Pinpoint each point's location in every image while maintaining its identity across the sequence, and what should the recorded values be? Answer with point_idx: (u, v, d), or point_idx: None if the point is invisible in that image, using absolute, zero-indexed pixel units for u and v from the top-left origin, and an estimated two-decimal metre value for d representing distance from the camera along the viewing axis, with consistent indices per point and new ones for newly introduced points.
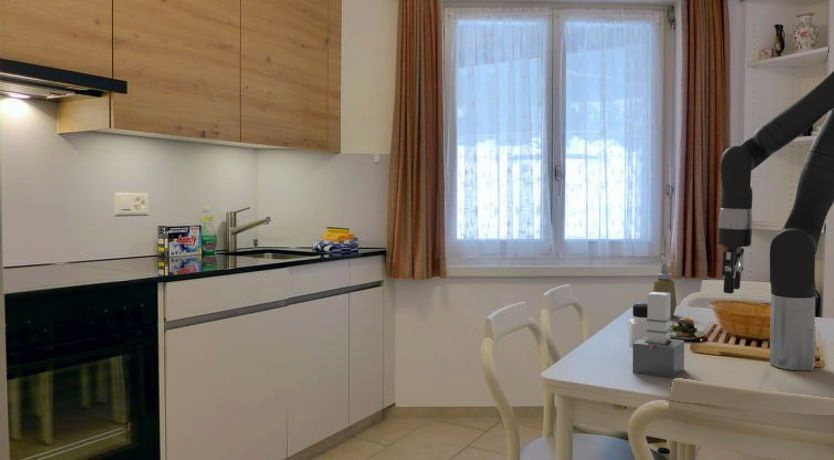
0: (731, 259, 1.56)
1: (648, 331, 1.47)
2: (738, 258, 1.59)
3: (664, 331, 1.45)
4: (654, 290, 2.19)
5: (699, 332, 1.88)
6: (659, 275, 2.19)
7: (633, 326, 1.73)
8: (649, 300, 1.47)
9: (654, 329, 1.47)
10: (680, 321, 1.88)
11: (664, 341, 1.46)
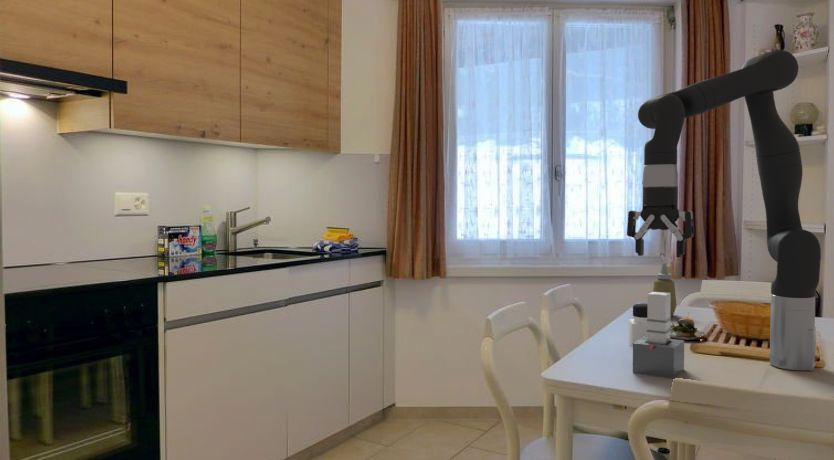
0: (692, 218, 1.43)
1: (648, 331, 1.47)
2: None
3: (664, 331, 1.45)
4: (654, 290, 2.19)
5: (699, 332, 1.88)
6: (659, 275, 2.19)
7: (633, 326, 1.73)
8: (649, 300, 1.47)
9: (654, 329, 1.47)
10: (680, 321, 1.88)
11: (664, 341, 1.46)
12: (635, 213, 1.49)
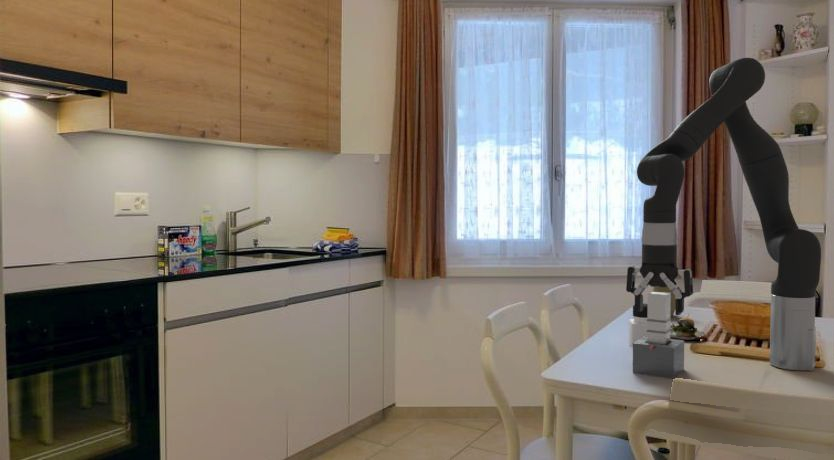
0: (691, 277, 1.44)
1: (648, 331, 1.47)
2: None
3: (664, 331, 1.45)
4: (654, 290, 2.19)
5: (699, 332, 1.88)
6: None
7: (633, 326, 1.73)
8: (649, 300, 1.47)
9: (654, 329, 1.47)
10: (680, 321, 1.88)
11: (664, 341, 1.46)
12: (634, 269, 1.50)
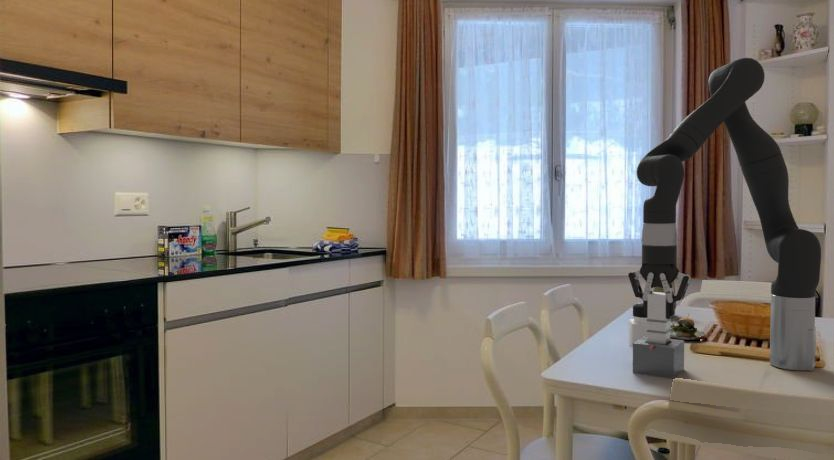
0: (688, 283, 1.44)
1: (648, 331, 1.47)
2: None
3: (664, 331, 1.45)
4: (654, 290, 2.19)
5: (699, 332, 1.88)
6: None
7: (633, 326, 1.73)
8: (649, 300, 1.47)
9: (654, 330, 1.47)
10: (680, 321, 1.88)
11: (664, 341, 1.46)
12: (635, 273, 1.50)
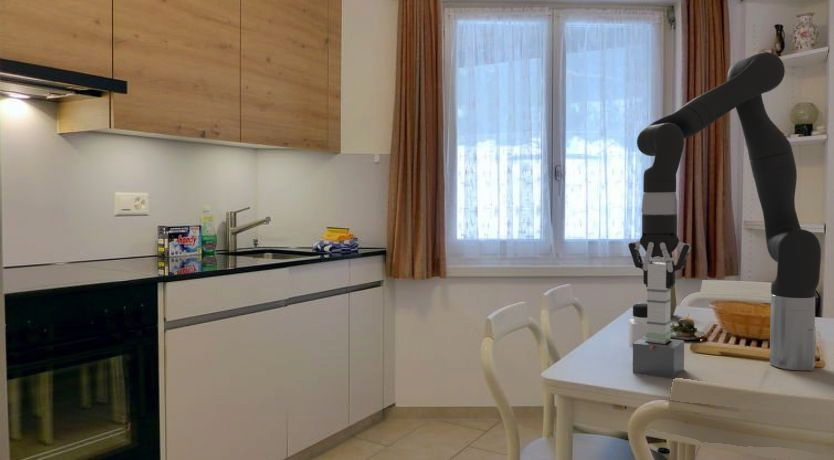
0: (688, 252, 1.44)
1: (648, 301, 1.47)
2: None
3: (664, 301, 1.45)
4: None
5: (699, 332, 1.88)
6: None
7: (633, 326, 1.73)
8: (649, 270, 1.47)
9: (655, 299, 1.46)
10: (680, 321, 1.88)
11: (664, 311, 1.45)
12: (635, 244, 1.50)
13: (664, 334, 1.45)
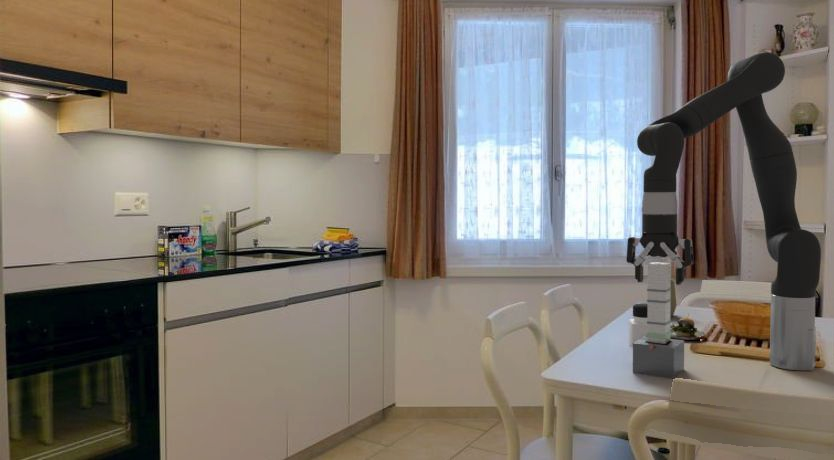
0: (691, 246, 1.43)
1: (648, 301, 1.47)
2: None
3: (664, 300, 1.45)
4: None
5: (699, 332, 1.88)
6: None
7: (633, 326, 1.73)
8: (649, 270, 1.47)
9: (655, 299, 1.46)
10: (680, 321, 1.88)
11: (664, 311, 1.45)
12: (635, 240, 1.50)
13: (664, 334, 1.45)
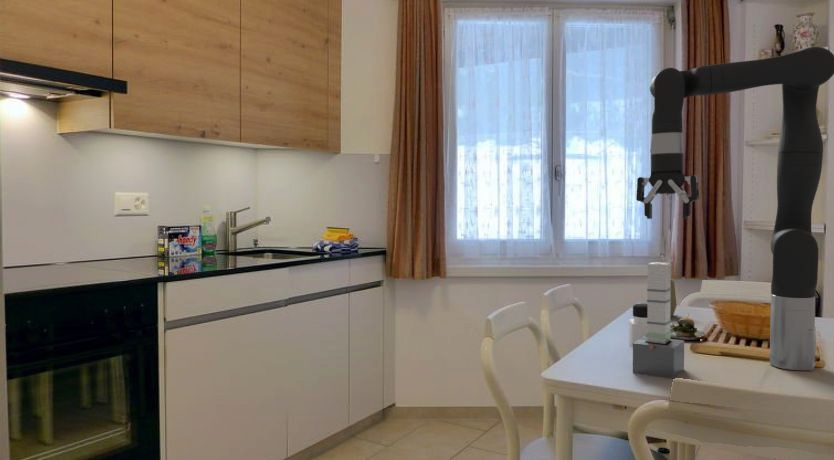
0: (697, 182, 1.55)
1: (648, 301, 1.47)
2: None
3: (664, 300, 1.45)
4: None
5: (699, 332, 1.88)
6: None
7: (633, 326, 1.73)
8: (649, 270, 1.47)
9: (655, 299, 1.46)
10: (680, 321, 1.88)
11: (664, 311, 1.45)
12: (644, 179, 1.61)
13: (664, 334, 1.45)
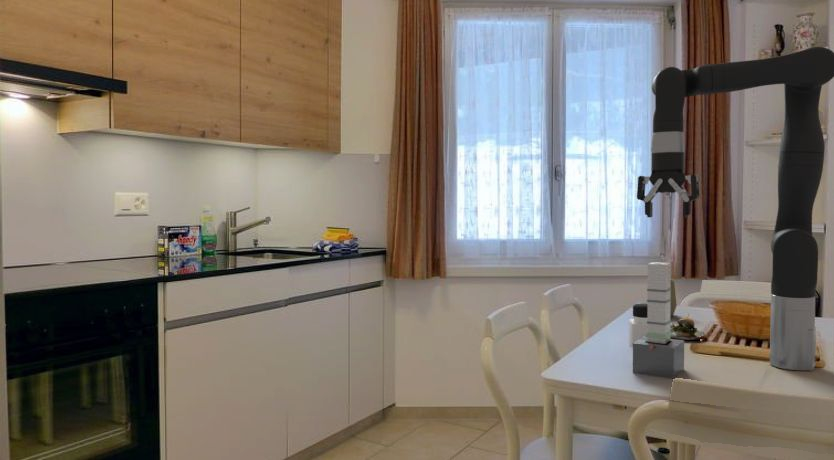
0: (697, 181, 1.55)
1: (648, 301, 1.47)
2: None
3: (664, 300, 1.45)
4: None
5: (699, 332, 1.88)
6: None
7: (633, 326, 1.73)
8: (649, 270, 1.47)
9: (655, 299, 1.46)
10: (680, 321, 1.88)
11: (664, 311, 1.45)
12: (644, 178, 1.61)
13: (664, 334, 1.45)
